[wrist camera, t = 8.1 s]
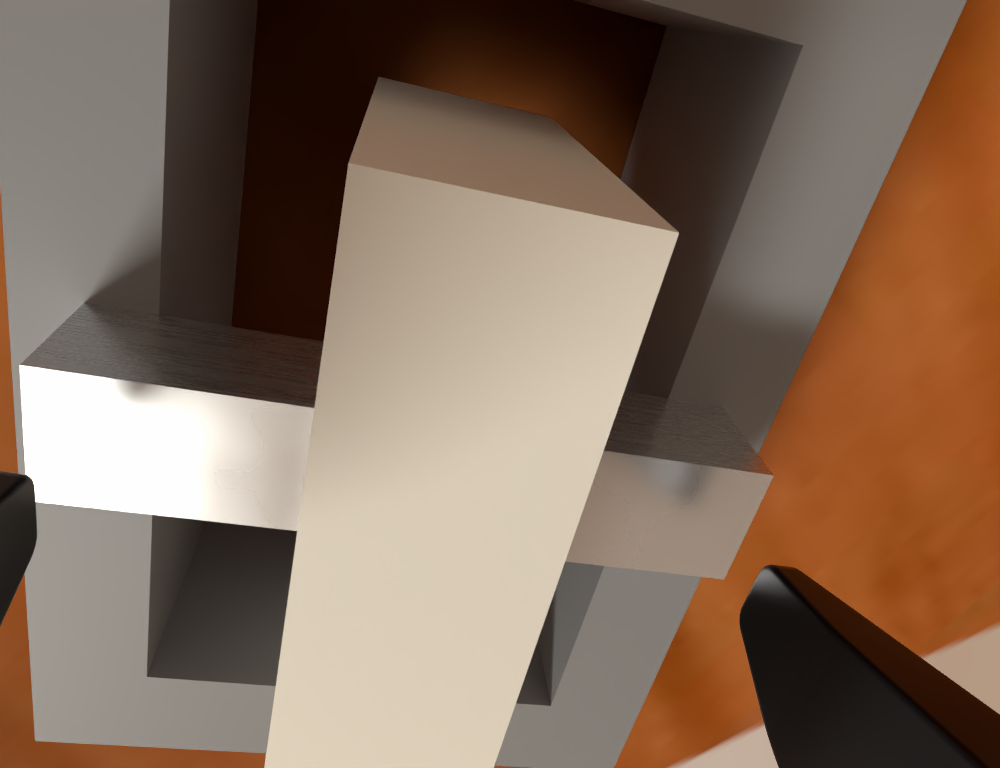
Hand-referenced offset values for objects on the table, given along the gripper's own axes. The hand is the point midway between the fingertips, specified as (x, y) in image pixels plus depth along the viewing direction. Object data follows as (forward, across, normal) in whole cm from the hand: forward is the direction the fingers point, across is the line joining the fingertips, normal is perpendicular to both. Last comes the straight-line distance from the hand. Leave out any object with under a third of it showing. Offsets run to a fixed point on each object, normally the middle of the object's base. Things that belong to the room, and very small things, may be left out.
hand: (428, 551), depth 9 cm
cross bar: (+3, 0, 0) cm, 3 cm away
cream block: (+6, 0, 0) cm, 6 cm away
